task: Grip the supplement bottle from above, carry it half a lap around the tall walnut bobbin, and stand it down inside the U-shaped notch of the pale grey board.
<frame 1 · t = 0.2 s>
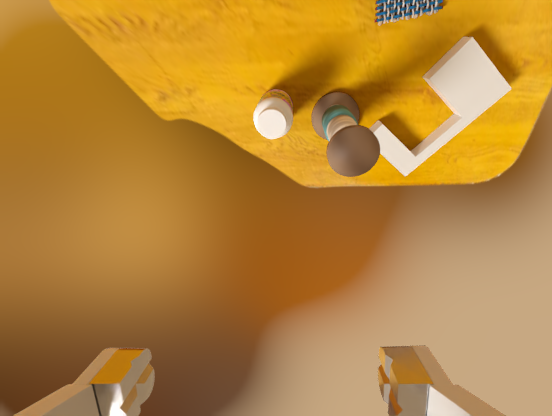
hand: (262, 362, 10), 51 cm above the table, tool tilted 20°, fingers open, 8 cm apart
supplement bottle: (276, 106, 55), on the table
notched board: (427, 111, 54), on the table
bobbin: (334, 116, 55), on the table
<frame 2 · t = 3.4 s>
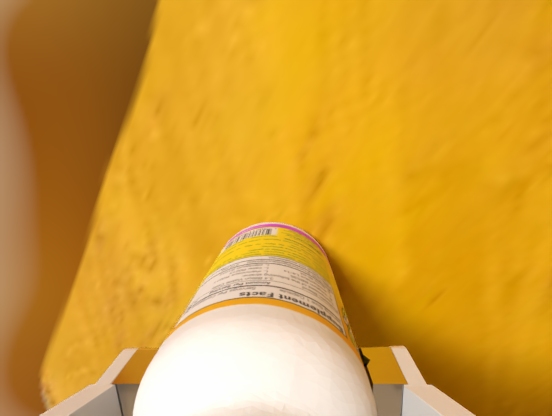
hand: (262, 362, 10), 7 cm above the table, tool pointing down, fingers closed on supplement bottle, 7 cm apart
supplement bottle: (274, 270, 17), on the table, touching gripper
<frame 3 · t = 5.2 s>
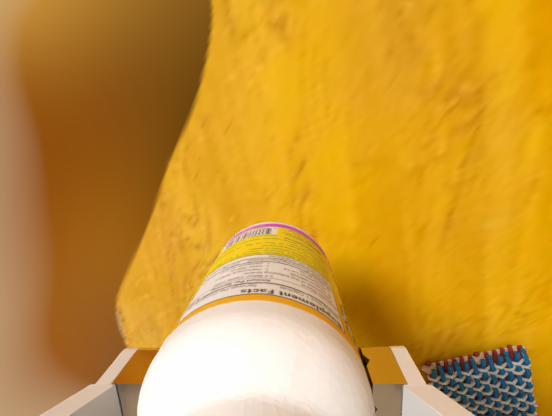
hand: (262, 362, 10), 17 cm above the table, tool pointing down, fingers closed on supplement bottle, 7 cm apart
supplement bottle: (274, 269, 17), point 10 cm above the table, touching gripper
woven mat: (472, 386, 31), on the table
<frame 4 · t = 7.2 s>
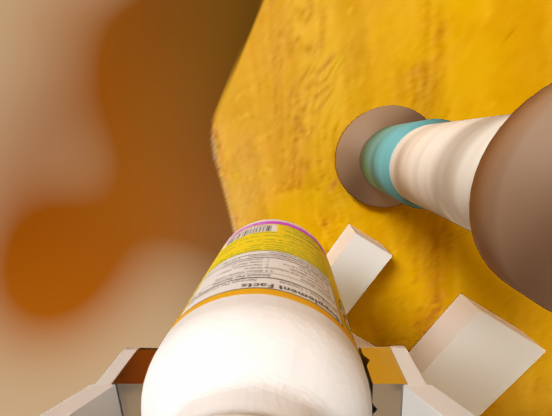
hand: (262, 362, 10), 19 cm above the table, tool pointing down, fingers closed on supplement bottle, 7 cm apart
supplement bottle: (274, 266, 17), point 11 cm above the table, touching gripper
notched board: (401, 321, 30), on the table
bobbin: (383, 157, 26), on the table
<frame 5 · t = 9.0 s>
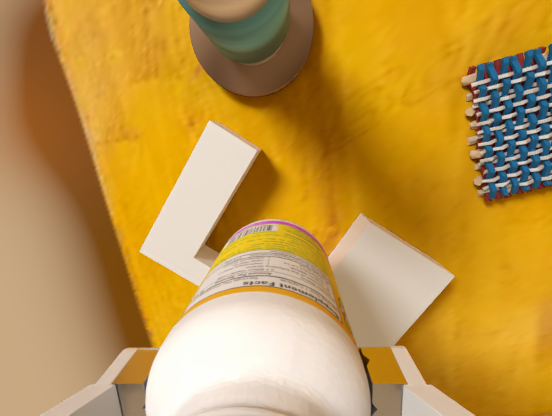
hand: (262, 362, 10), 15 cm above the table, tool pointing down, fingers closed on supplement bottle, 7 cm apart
supplement bottle: (274, 265, 18), point 8 cm above the table, touching gripper
notched board: (293, 249, 25), on the table
woven mat: (528, 122, 22), on the table
bobbin: (253, 33, 21), on the table
when the fingers open (8 cm above the table, at t = 10.7 s): supplement bottle stays where it is, on the table.
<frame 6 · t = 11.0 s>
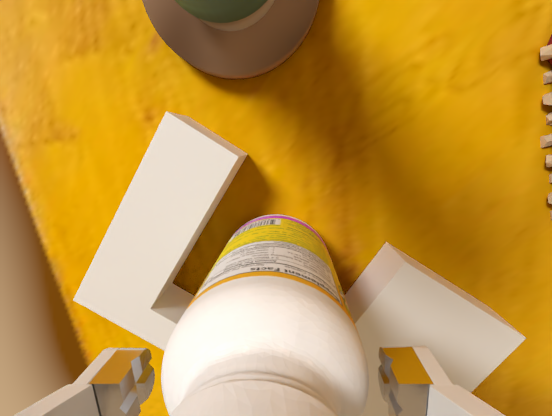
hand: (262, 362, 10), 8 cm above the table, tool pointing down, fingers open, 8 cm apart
supplement bottle: (277, 259, 18), on the table
notched board: (292, 290, 18), on the table
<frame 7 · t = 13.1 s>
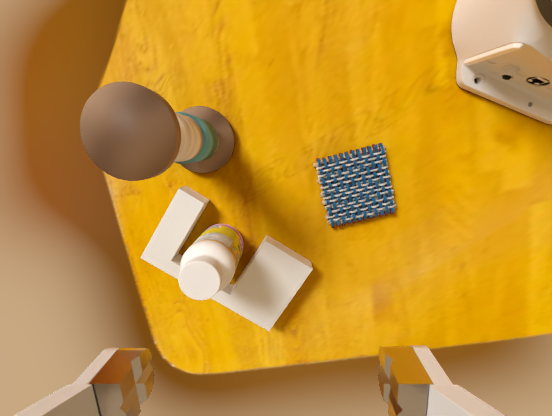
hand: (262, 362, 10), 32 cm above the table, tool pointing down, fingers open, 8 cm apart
supplement bottle: (223, 242, 43), on the table
notched board: (230, 255, 44), on the table
woven mat: (353, 186, 42), on the table
bobbin: (203, 140, 40), on the table
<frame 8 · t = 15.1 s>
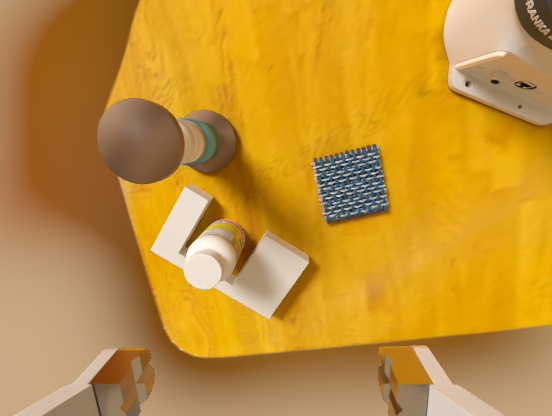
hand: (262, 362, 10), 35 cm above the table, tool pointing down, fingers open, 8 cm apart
supplement bottle: (226, 236, 47), on the table
notched board: (232, 249, 47), on the table
woven mat: (348, 184, 44), on the table
bobbin: (207, 141, 43), on the table
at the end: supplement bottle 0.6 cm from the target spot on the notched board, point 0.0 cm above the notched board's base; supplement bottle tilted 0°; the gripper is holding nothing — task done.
